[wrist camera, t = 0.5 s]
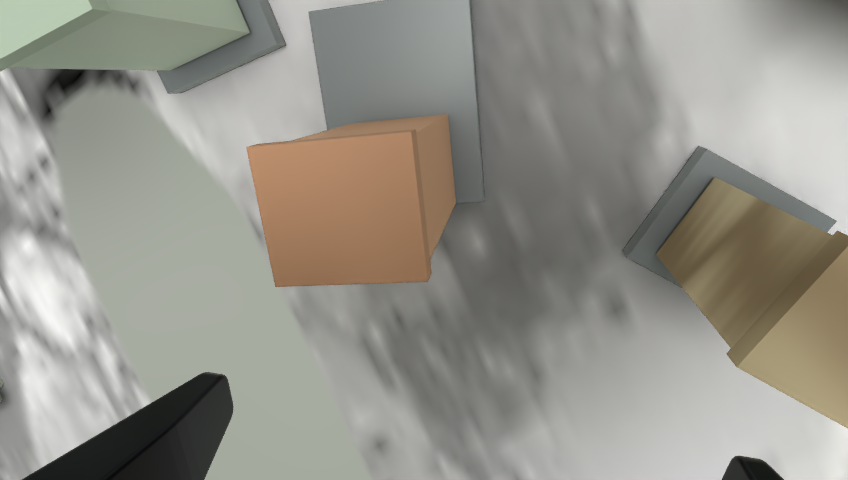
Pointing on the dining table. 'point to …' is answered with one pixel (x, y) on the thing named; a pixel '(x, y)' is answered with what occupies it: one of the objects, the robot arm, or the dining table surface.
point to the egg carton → (0, 383)
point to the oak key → (769, 292)
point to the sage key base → (230, 50)
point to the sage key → (114, 32)
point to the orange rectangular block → (356, 201)
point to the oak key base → (689, 190)
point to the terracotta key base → (404, 72)
